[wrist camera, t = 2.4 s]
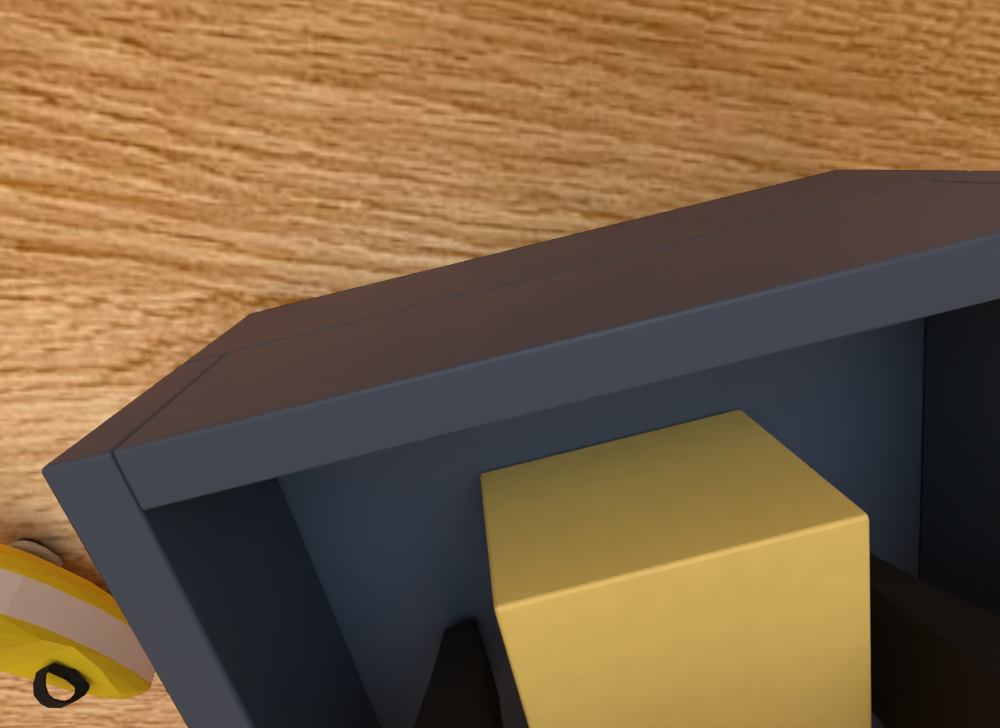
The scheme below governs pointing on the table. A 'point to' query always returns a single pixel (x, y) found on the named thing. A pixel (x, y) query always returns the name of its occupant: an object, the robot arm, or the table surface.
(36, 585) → the game controller
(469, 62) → the table surface
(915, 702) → the robot arm
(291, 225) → the table surface
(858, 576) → the notepads
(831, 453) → the bin
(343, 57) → the table surface
